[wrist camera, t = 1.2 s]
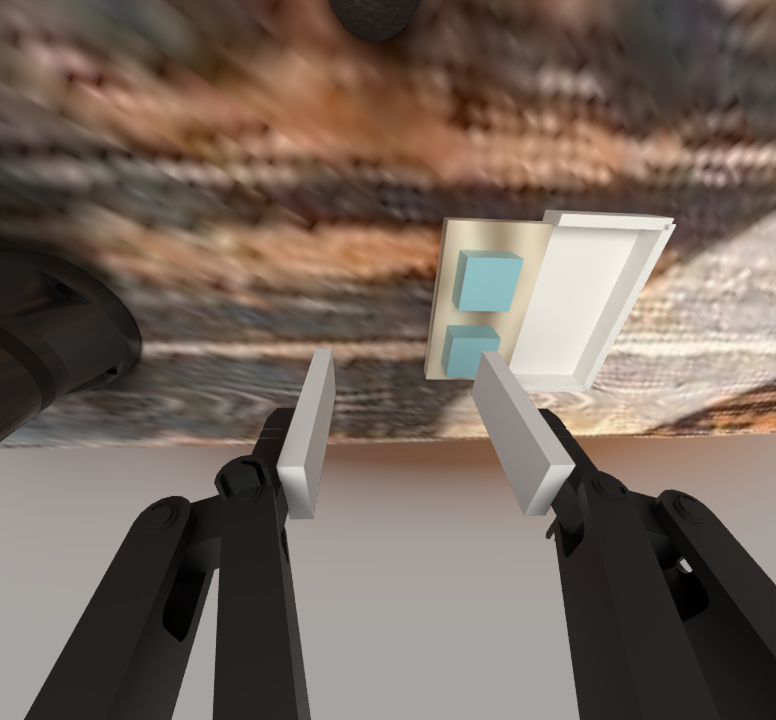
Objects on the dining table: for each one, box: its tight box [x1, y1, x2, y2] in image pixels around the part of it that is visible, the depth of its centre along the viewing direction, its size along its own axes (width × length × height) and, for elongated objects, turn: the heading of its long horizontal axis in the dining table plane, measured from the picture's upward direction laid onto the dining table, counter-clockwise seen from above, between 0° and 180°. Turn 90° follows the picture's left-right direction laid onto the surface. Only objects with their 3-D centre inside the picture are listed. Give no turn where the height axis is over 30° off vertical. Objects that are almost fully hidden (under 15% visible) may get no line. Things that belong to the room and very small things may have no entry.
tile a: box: [452, 250, 524, 312], centre depth 28 cm, size 5×5×3 cm
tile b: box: [441, 325, 501, 378], centre depth 32 cm, size 5×5×3 cm
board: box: [424, 217, 554, 380], centre depth 32 cm, size 10×18×2 cm, turn 178°
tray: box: [509, 210, 676, 392], centre depth 32 cm, size 11×20×3 cm, turn 178°
